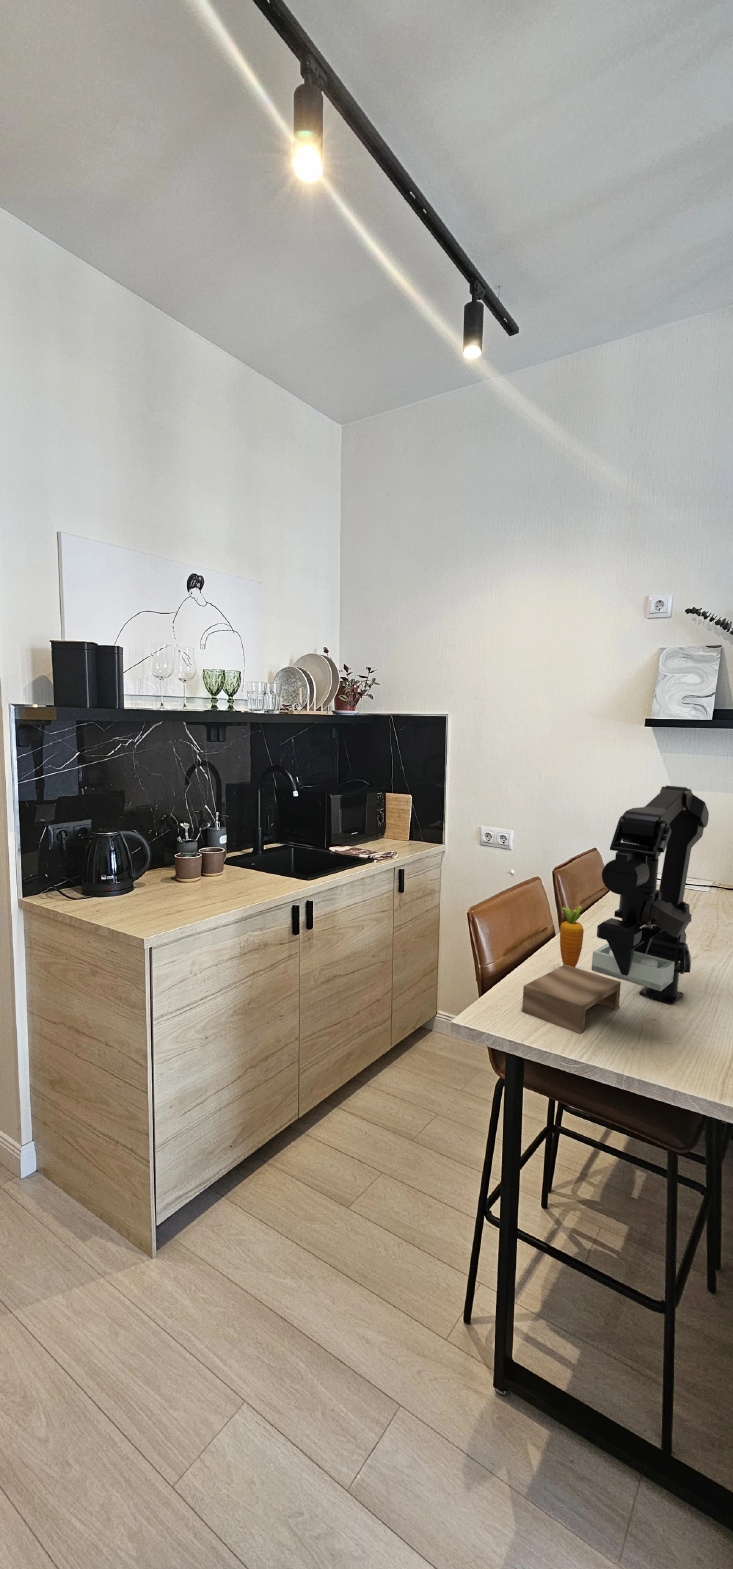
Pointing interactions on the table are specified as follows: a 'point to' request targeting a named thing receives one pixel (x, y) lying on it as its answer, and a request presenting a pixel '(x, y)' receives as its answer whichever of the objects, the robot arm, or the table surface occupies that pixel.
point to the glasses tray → (635, 968)
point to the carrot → (571, 937)
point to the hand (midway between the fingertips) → (631, 970)
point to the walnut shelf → (569, 996)
